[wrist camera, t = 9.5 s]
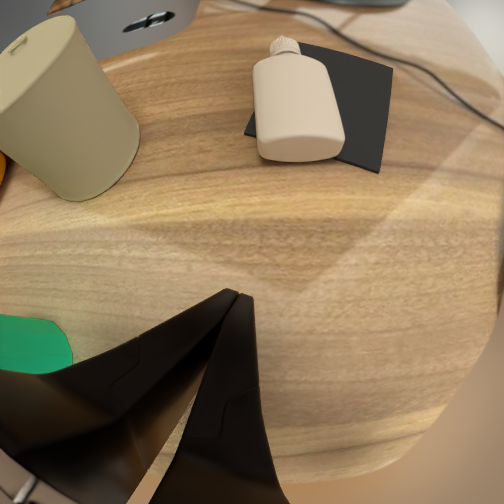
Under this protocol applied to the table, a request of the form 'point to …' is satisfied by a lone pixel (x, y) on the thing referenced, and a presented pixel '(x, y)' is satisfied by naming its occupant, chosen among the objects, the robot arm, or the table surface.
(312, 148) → the eye dropper bottle
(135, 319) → the table surface
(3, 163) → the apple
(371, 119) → the felt mat
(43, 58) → the can
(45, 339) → the candle
